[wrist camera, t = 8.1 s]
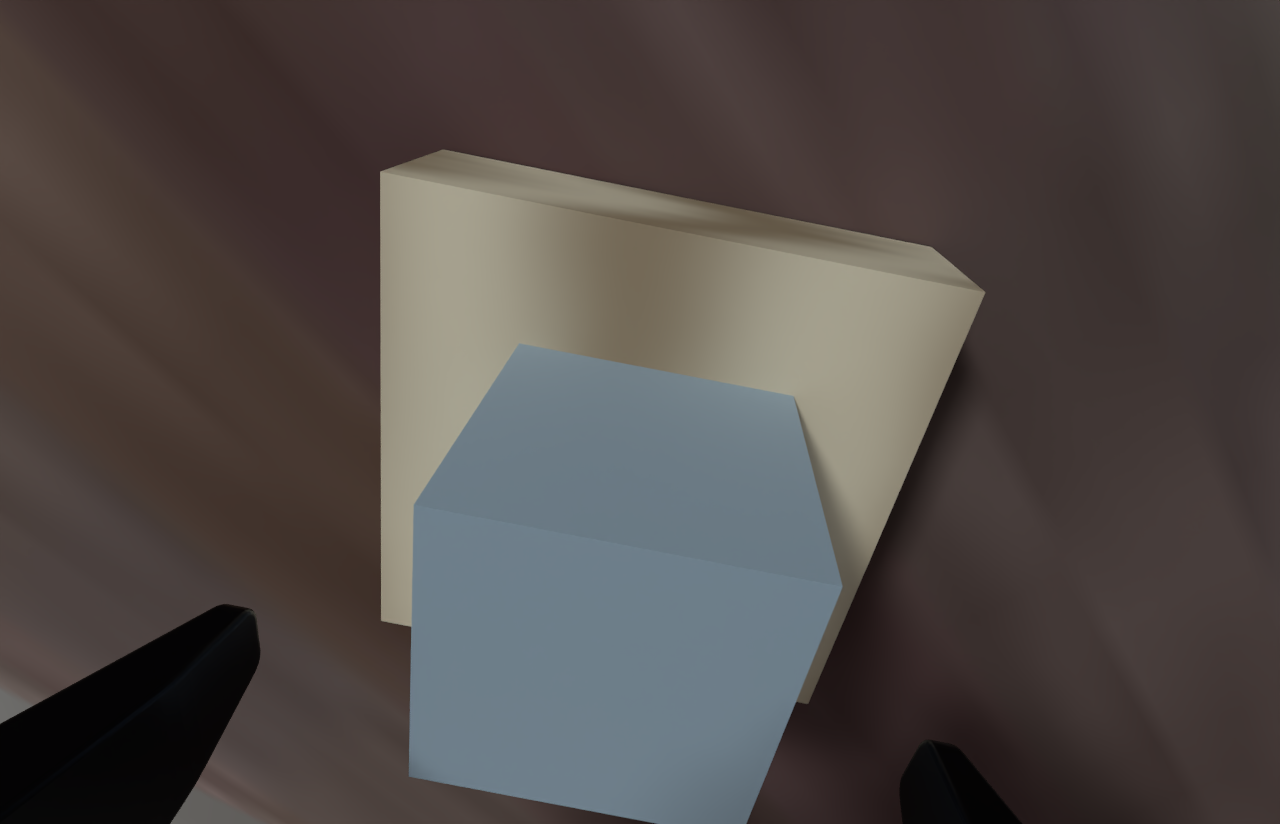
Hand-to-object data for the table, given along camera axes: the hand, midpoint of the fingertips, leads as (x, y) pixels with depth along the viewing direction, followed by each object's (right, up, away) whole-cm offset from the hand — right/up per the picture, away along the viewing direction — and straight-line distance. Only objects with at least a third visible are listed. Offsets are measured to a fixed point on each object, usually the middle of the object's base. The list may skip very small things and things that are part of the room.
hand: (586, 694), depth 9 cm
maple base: (+1, +4, +7) cm, 8 cm away
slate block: (+1, +2, +4) cm, 5 cm away
